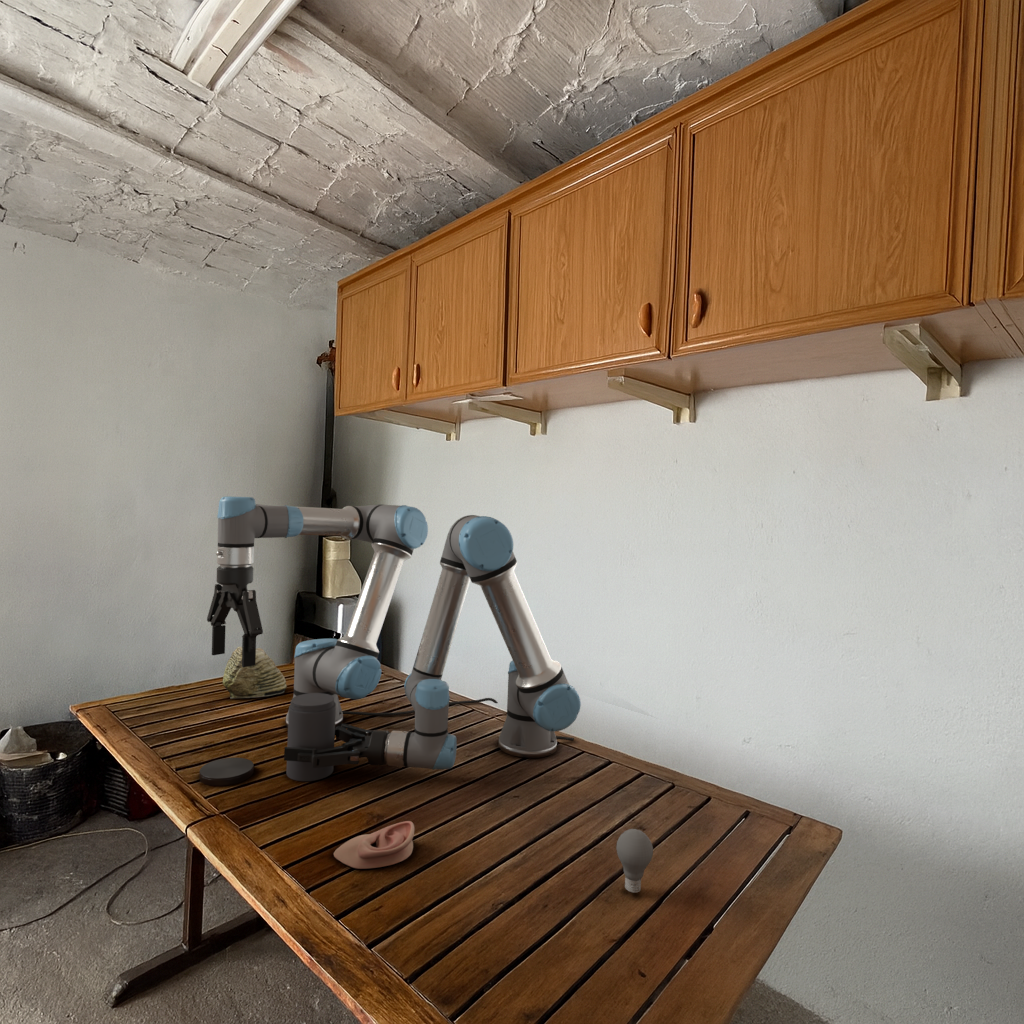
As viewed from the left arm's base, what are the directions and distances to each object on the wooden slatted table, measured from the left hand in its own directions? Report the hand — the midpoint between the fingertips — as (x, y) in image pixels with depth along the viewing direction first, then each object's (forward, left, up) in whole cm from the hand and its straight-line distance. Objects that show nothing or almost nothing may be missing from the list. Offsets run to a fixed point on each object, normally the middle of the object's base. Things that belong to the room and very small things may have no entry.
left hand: (232, 660), depth 142 cm
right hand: (-11, +9, -19) cm, 24 cm away
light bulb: (-24, +89, -26) cm, 95 cm away
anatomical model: (-2, +48, -26) cm, 55 cm away
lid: (+1, 0, -25) cm, 25 cm away
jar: (-13, +11, -26) cm, 31 cm away
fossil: (-33, -48, -26) cm, 64 cm away
